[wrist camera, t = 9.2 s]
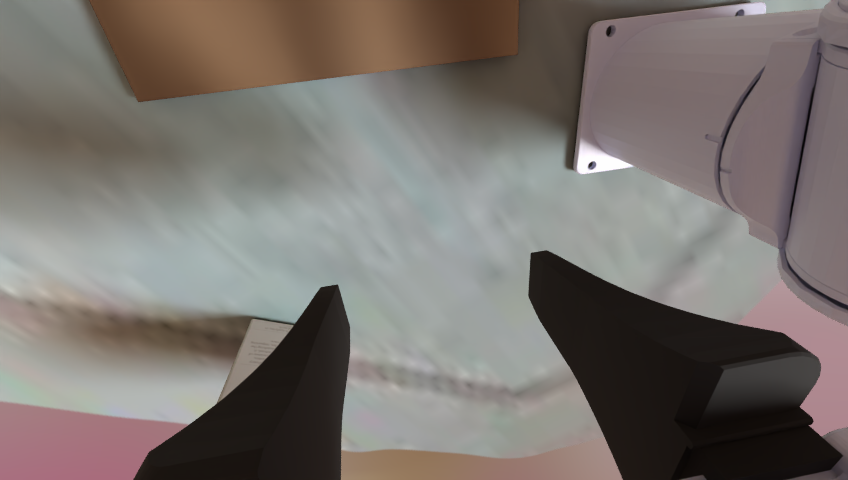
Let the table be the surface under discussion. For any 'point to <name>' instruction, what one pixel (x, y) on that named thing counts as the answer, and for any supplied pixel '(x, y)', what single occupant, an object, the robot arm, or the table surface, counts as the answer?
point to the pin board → (294, 39)
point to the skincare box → (254, 351)
